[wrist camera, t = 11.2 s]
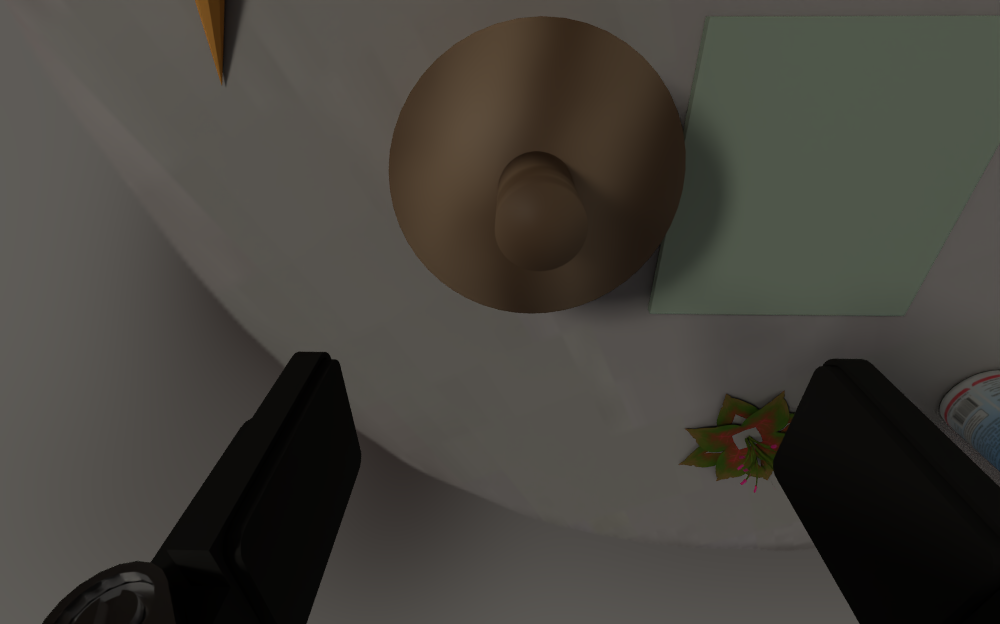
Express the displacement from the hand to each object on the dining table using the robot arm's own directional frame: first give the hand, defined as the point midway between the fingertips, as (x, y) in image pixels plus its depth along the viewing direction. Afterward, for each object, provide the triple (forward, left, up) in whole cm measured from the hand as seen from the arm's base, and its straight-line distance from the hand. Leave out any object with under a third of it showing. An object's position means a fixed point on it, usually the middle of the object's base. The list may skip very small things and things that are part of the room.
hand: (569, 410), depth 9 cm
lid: (0, 0, -16) cm, 16 cm away
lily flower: (-20, +24, -23) cm, 39 cm away
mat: (-18, +2, -22) cm, 28 cm away
